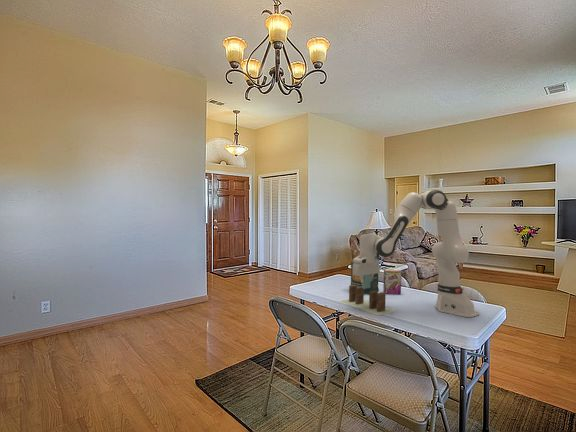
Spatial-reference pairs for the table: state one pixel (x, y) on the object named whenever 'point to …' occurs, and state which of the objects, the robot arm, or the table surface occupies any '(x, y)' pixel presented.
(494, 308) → the table surface
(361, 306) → the felt mat
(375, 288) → the donation box
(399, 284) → the candy bar box
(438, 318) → the table surface
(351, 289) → the tile
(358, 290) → the tile
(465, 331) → the table surface
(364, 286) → the teal tile
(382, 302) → the tile
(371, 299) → the tile
